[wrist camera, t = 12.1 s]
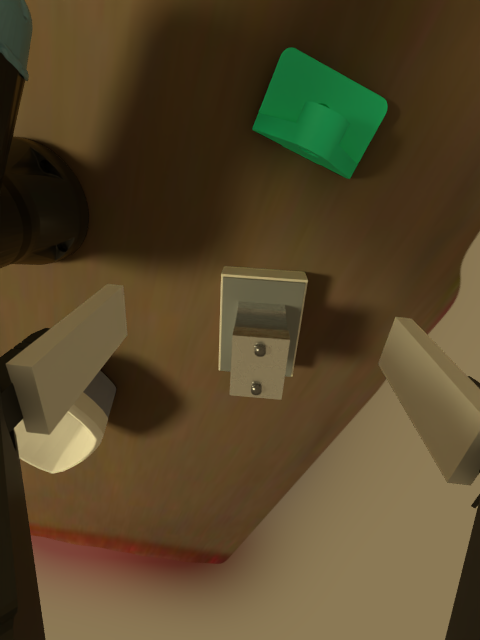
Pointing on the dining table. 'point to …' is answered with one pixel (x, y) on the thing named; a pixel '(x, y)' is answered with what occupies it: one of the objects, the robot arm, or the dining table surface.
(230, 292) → the plinth
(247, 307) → the housing
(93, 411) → the bowl
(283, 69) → the camera mount
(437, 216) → the dining table surface
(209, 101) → the dining table surface
